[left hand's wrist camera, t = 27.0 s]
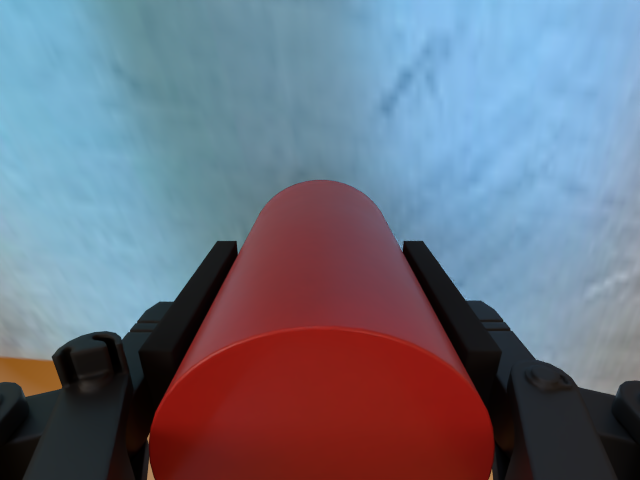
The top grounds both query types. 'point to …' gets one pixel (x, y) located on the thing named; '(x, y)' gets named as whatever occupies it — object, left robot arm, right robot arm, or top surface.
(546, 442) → the left robot arm
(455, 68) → the top surface
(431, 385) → the tin
